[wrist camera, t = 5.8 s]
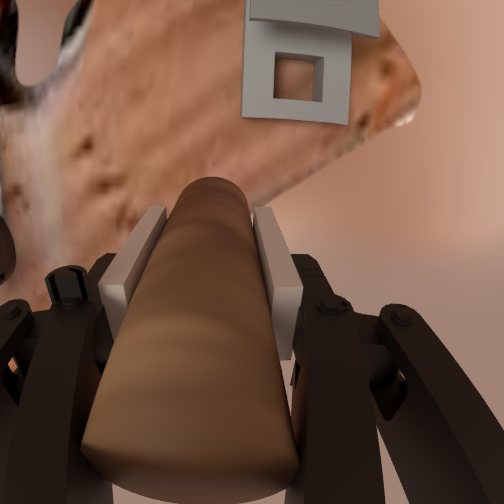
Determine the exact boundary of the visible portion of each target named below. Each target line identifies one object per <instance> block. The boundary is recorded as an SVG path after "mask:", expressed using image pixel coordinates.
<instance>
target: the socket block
mask: <svg viewBox="0 0 504 504" xmlns="http://www.w3.org/2000/svg"><path fill="white" fill-rule="evenodd" d="M352 34H354V35H358V36H363V37H367V38H371V39H377V38H379V2H378V0H245V5H244V28H243V53H242V81H241V112H240V116H241V117H256V118H278V119H294V120H307V121H318V122H328V123H337V124H345V125H348V115H349V99H350V80H351V50H352ZM275 57H276V58H288V59H298V60H306V61H314V83H313V102H312V101H302V100H290V99H276V98H273V90H274V64H275Z"/></svg>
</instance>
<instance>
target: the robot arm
mask: <svg viewBox="0 0 504 504" xmlns="http://www.w3.org/2000/svg"><path fill="white" fill-rule="evenodd" d="M166 222H167V216H166V206H150V207H149V208H148V209H147V211H146V212H145V213H144V215H143V216H142V218H141V219H140V220H139V222H138V223H137V225H136V226H135V228H134V229H133V231H132V232H131V233H130V235H129V236H128V238H127V239H126V241H125V242H124V244H123V245H122V247H121V248H120V250H119V251H118V253H106V254H105V255H103V256H102V257H100V258H99V259H97V261H96V262H95V264H94V265H93V266H92V268H91V269H90V271H89V272H88V274H87V271H86V270H85V269H84V267H81V266H78V265H69V266H64V267H60V268H58V269H55V270H54V271H52V272H51V273H49V274H48V275H47V276H46V277H45V282H46V285H47V288H48V292H49V295H50V298H51V301H52V305H51V308H50V310H44V311H37V312H32V311H31V308H30V305H29V303H28V302H27V301H25V300H22V299H14V300H10V301H7V302H6V303H4V304H3V305H1V306H0V504H113V491H112V483H111V482H109V481H107V480H106V479H105V478H104V477H103V476H102V475H101V474H100V473H99V472H98V471H97V469H96V468H95V467H94V466H93V465H92V464H91V463H90V461H89V460H88V459H87V458H86V457H85V456H84V454H83V453H82V452H81V451H80V447H81V442H82V439H83V435H84V432H85V428H86V425H87V421H88V418H89V415H90V411H91V408H92V405H93V402H94V399H95V396H96V393H97V390H98V387H99V384H100V381H101V378H102V375H103V372H104V369H105V366H106V364H107V361H108V358H109V355H110V352H111V350H112V347H113V344H114V342H115V339H116V337H117V334H118V331H119V329H120V326H121V324H122V321H123V319H124V316H125V314H126V311H127V309H128V307H129V304H130V302H131V299H132V297H133V295H134V292H135V290H136V287H137V285H138V283H139V281H140V278H141V276H142V274H143V271H144V269H145V267H146V265H147V263H148V260H149V258H150V256H151V254H152V252H153V249H154V247H155V245H156V243H157V241H158V239H159V237H160V235H161V233H162V230H163V228H164V226H165V224H166ZM253 232H254V236H255V241H256V246H257V251H258V256H259V261H260V266H261V271H262V275H263V280H264V285H265V290H266V295H267V300H268V305H269V310H270V315H271V320H272V325H273V330H274V335H275V340H276V345H277V350H278V355H279V360H280V361H281V360H291V356H292V350H294V354H295V358H296V360H295V364H294V369H293V374H292V379H291V383H290V385H291V386H293V389H292V409H291V420H292V425H293V430H294V435H295V441H296V446H297V451H298V456H299V463H300V465H299V467H298V469H297V471H296V473H295V475H294V477H293V479H292V482H291V484H290V486H289V487H287V488H286V493H285V504H385V494H384V483H383V473H382V464H381V456H380V449H379V442H378V434H377V428H378V429H379V432H380V434H381V437H382V439H383V441H384V443H385V446H386V448H387V450H388V453H389V455H390V457H391V460H392V462H393V465H394V467H395V470H396V472H397V474H398V477H399V479H400V482H401V484H402V486H403V489H404V491H405V494H406V496H407V499H408V501H409V504H504V430H503V428H502V427H501V425H500V424H499V422H498V420H497V419H496V417H495V416H494V414H493V413H492V411H491V410H490V408H489V407H488V405H487V404H486V402H485V401H484V399H483V398H482V397H481V395H480V393H479V392H478V391H477V389H476V388H475V386H474V385H473V384H472V382H471V381H470V379H469V378H468V377H467V375H466V374H465V372H464V371H463V370H462V368H461V367H460V366H459V364H458V363H457V362H456V360H455V359H454V357H453V356H452V355H451V353H450V352H449V351H448V350H447V348H446V347H445V346H444V344H443V343H442V342H441V341H440V339H439V338H438V337H437V336H436V334H435V333H434V332H433V331H432V329H431V328H430V327H429V325H428V324H427V323H426V322H425V320H424V319H423V318H422V317H421V316H420V314H418V313H417V312H416V311H415V310H414V309H412V308H410V307H408V306H406V305H402V304H389V305H385V306H384V307H383V308H382V309H381V311H380V315H379V316H373V315H366V314H361V313H356V312H354V310H353V307H352V305H351V304H350V302H348V301H347V300H346V299H345V298H343V297H341V296H338V295H336V294H334V292H333V290H332V288H331V287H330V285H329V283H328V281H327V279H326V277H325V276H324V273H323V271H322V270H321V268H320V266H319V264H318V262H317V261H316V260H315V259H314V258H312V257H311V256H310V255H308V254H290V252H289V250H288V247H287V245H286V243H285V240H284V238H283V235H282V233H281V230H280V228H279V225H278V223H277V221H276V218H275V216H274V213H273V211H272V209H271V207H254V215H253ZM14 266H15V249H14V244H13V241H12V237H11V235H10V232H9V230H8V228H7V226H6V224H5V222H4V221H3V219H2V218H1V217H0V285H2V284H3V283H4V282H5V281H6V280H7V279H8V278H9V277H10V276H11V274H12V272H13V270H14ZM11 358H13V360H14V361H15V363H16V365H17V369H16V370H15V371H14V372H12V371H11V369H10V367H9V366H8V363H9V361H10V360H11ZM401 373H402V374H403V376H404V378H405V379H404V378H403V376H402V375H401ZM376 425H377V428H376Z"/></svg>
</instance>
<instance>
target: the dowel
mask: <svg viewBox="0 0 504 504" xmlns="http://www.w3.org/2000/svg"><path fill="white" fill-rule="evenodd" d="M80 451H81V452H82V453H83V454H84V456H85V457H86V458H87V459H88V460H89V461H90V463H91V464H92V465H93V466H94V467H95V468H96V469H97V471H98V472H99V473H100V474H101V475H102V476H103V477H104V478H105V479H106V480H107V481H109V482H111V483H113V484H115V485H117V486H119V487H121V488H123V489H125V490H128V491H130V492H133V493H136V494H139V495H142V496H145V497H149V498H152V499H157V500H161V501H166V502H171V503H178V504H239V503H245V502H250V501H255V500H259V499H262V498H265V497H268V496H271V495H274V494H276V493H278V492H280V491H282V490H284V489H286V488H287V487H289V486H290V484H291V482H292V479H293V477H294V475H295V473H296V471H297V469H298V467H299V465H300V463H299V456H298V451H297V446H296V441H295V435H294V430H293V425H292V420H291V416H290V410H289V405H288V400H287V395H286V390H285V385H284V380H283V375H282V370H281V365H280V360H279V355H278V350H277V345H276V340H275V335H274V330H273V325H272V320H271V315H270V310H269V305H268V300H267V295H266V290H265V285H264V280H263V275H262V271H261V266H260V261H259V256H258V251H257V246H256V241H255V236H254V232H253V227H252V222H251V217H250V212H249V207H248V203H247V200H246V197H245V195H244V194H243V192H242V191H241V190H240V189H239V187H237V186H236V185H235V184H234V183H232V182H231V181H228V180H226V179H223V178H219V177H205V178H201V179H198V180H196V181H194V182H192V183H191V184H189V185H188V186H187V187H186V188H185V189H184V190H183V191H182V193H181V194H180V196H179V198H178V200H177V202H176V204H175V206H174V208H173V210H172V212H171V214H170V216H169V218H168V220H167V222H166V224H165V226H164V228H163V230H162V233H161V235H160V237H159V239H158V241H157V243H156V245H155V247H154V249H153V252H152V254H151V256H150V258H149V260H148V263H147V265H146V267H145V269H144V271H143V274H142V276H141V278H140V281H139V283H138V285H137V287H136V290H135V292H134V295H133V297H132V299H131V302H130V304H129V307H128V309H127V311H126V314H125V316H124V319H123V321H122V324H121V326H120V329H119V331H118V334H117V337H116V339H115V342H114V345H113V347H112V350H111V353H110V355H109V358H108V361H107V364H106V366H105V369H104V372H103V375H102V378H101V381H100V384H99V387H98V390H97V393H96V396H95V399H94V402H93V405H92V408H91V411H90V415H89V418H88V421H87V425H86V428H85V432H84V435H83V439H82V442H81V447H80Z"/></svg>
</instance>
